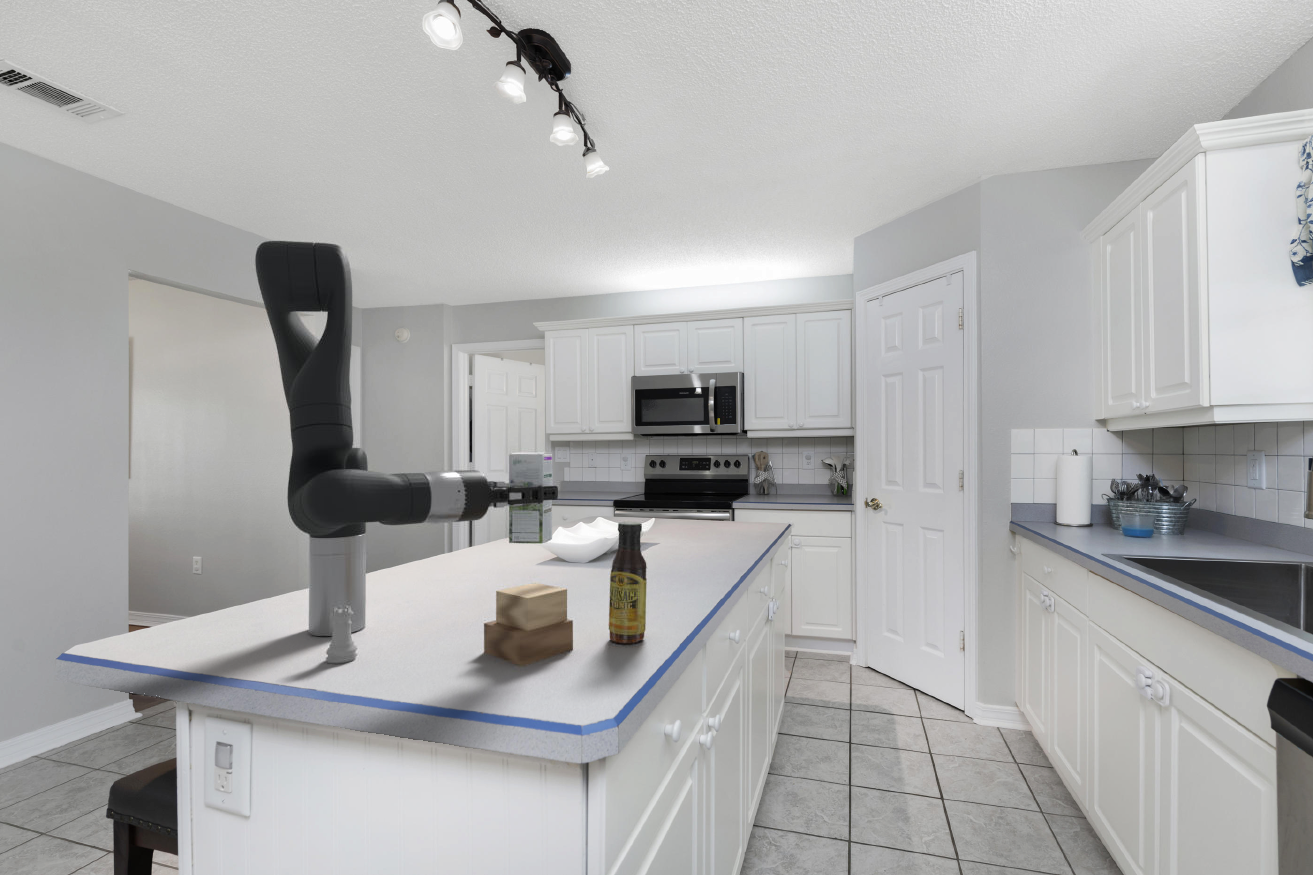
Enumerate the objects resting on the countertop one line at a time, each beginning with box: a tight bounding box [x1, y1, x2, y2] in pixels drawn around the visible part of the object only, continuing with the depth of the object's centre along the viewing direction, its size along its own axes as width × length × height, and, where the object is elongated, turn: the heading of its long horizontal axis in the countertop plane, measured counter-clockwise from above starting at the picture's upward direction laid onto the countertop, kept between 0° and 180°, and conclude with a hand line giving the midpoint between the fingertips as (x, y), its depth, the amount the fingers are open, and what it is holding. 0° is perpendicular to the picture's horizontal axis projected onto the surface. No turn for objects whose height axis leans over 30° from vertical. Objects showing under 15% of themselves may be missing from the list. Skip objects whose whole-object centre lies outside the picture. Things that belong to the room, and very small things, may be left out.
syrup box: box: [508, 451, 553, 545], centre depth 99 cm, size 6×6×14 cm
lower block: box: [483, 618, 574, 667], centre depth 98 cm, size 10×10×5 cm
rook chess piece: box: [325, 606, 358, 665], centre depth 95 cm, size 4×4×8 cm
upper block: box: [495, 582, 568, 631], centre depth 99 cm, size 8×8×5 cm
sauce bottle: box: [608, 521, 648, 645], centre depth 104 cm, size 7×6×20 cm
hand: (540, 491), depth 100 cm, fingers closed on syrup box, 8 cm apart
